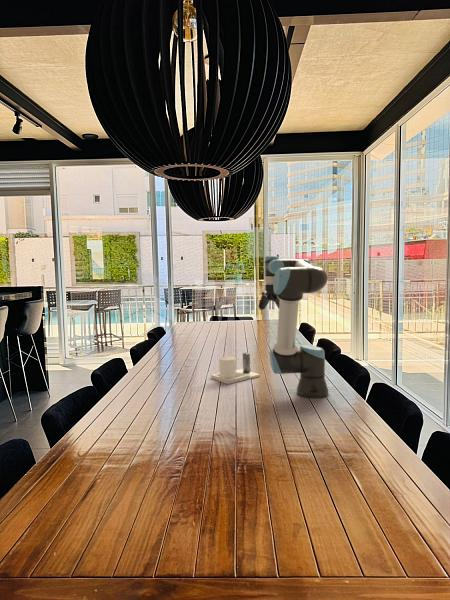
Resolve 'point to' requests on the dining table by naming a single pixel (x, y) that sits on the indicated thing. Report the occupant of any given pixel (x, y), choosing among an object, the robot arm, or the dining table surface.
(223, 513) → the dining table surface
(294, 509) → the dining table surface
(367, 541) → the dining table surface
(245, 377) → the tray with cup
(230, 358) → the candle holder
